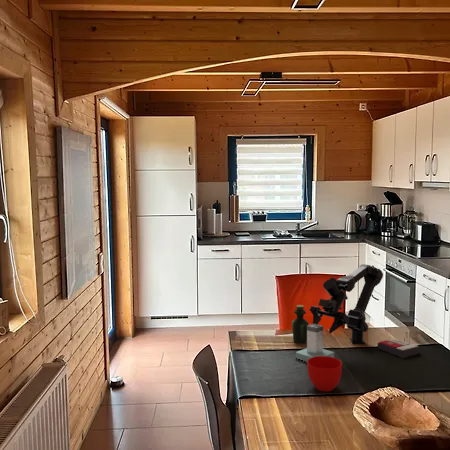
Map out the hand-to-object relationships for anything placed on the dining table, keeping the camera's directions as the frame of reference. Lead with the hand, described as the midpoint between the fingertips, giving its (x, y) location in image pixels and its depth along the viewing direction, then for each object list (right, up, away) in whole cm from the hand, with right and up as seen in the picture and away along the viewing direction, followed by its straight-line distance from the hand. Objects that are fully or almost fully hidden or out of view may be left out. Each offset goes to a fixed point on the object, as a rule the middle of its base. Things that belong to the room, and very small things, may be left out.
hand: (321, 330), depth 211 cm
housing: (-3, -9, -2) cm, 10 cm away
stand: (-3, -12, -2) cm, 13 cm away
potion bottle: (-6, -10, +21) cm, 24 cm away
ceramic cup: (-4, -15, -30) cm, 33 cm away
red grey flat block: (+37, -12, +6) cm, 39 cm away
